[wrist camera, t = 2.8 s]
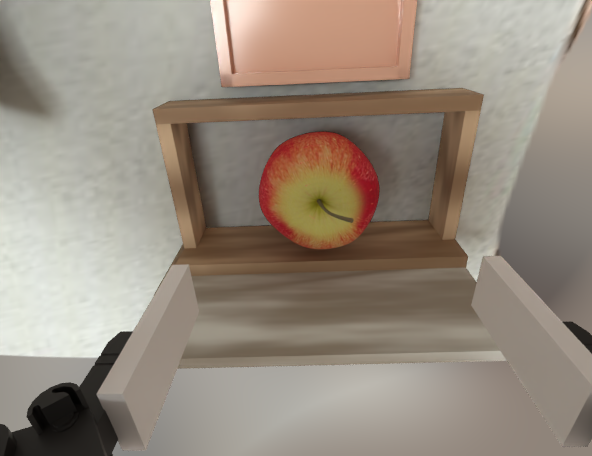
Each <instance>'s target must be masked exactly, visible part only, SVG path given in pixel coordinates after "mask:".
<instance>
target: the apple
mask: <svg viewBox="0 0 592 456" xmlns="http://www.w3.org/2000/svg"><path fill="white" fill-rule="evenodd" d="M378 198H379V182H378V177H377V175H376V172H375V170H374V168H373V166H372V165H371V163H370V161H369V160H368V158H367V157H366V156H365V155H364V153H363V152H362V151H361V150H360V149H359V148H358V147H357V146H356V145H355V144H354V143H352V142H351V141H350V140H348V139H347V138H345V137H344V136H342V135H339V134H336V133H332V132H311V133H306V134H302V135H299V136H296V137H293V138H291V139H289V140H287V141H285V142H284V143H282V144H281V145H279V146H278V147H277V148H276V149H275V151H274V152H273V153H272V155H271V156H270V158H269V160H268V162H267V164H266V166H265V168H264V171H263V174H262V177H261V182H260V187H259V202H260V207H261V210H262V212H263V214H264V216H265V217H266V219H267V220H268V221H269V222H270V224H271V225H272V226H273V227H274V228H275V229H276V230H278V231H279V232H280V233H281V234H282V235H284V236H285V237H287V238H288V239H290V240H291V241H293V242H294V243H296V244H298V245H300V246H303V247H306V248H310V249H332V248H337V247H341V246H344V245H347V244H349V243H351V242H353V241H354V240H356V239H357V238H358V237H359V236H360V235H361V234H362V232H363V231H364V230H365V228H366V227H367V226H368V224H369V222H370V221H371V219H372V217H373V215H374V212H375V210H376V207H377V203H378Z"/></svg>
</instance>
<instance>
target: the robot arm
mask: <svg viewBox="0 0 592 456" xmlns="http://www.w3.org/2000/svg"><path fill="white" fill-rule="evenodd" d="M471 306H472V307H473V309H474V310H475V312H476V313H477V315H478V317H479V318H480V320H481V321H482V323H483V324H484V326H485V328H486V329H487V331H488V332H489V334H490V335H491V337H492V338H493V340H494V342H495V343H496V345H497V346H498V348H499V349H500V351H501V352H502V354H503V356H504V357H505V359H506V360H507V362H508V363H509V365H510V366H511V368H512V369H513V371H514V373H515V374H516V376H517V377H518V379H519V380H520V382H521V384H522V385H523V387H524V388H525V390H526V391H527V393H528V395H529V396H530V398H531V399H532V401H533V402H534V404H535V405H536V407H537V408H538V410H539V412H540V413H541V415H542V416H543V418H544V419H545V421H546V423H547V424H548V426H549V427H550V429H551V430H552V432H553V433H554V435H555V437H556V438H557V440H558V441H559V443H560V444H561V446H562V447H582V446H583V447H584V446H585V447H586V446H588V445H589V443H590V441H591V439H592V335H591V334H590V333H589V332H587V331H586V330H584V329H583V328H581V327H580V326H578V325H576V324H575V323H573V322H561V320H560V319H559V318H558V317H557V316H556V315H555V314H554V313H553V312H552V311H551V310H550V309H549V307H548V306H547V305H546V304H545V303H544V302H543V301H542V300H541V299H540V298H539V297H538V296H537V294H536V293H535V292H534V291H533V290H532V289H531V288H530V287H529V286H528V285H527V284H526V283H525V281H524V280H523V279H522V278H521V277H520V276H519V275H518V274H517V273H516V272H515V271H514V270H513V269H512V267H511V266H510V265H509V264H508V263H507V262H506V261H505V260H504V259H503V258H502V257H501V256H483V259H482V263H481V267H480V271H479V275H478V279H477V283H476V288H475V292H474V296H473V300H472V304H471ZM198 313H199V308H198V304H197V299H196V295H195V290H194V286H193V281H192V277H191V272H190V268H189V264H185V265H172V266H171V268H170V269H169V271H168V273H167V275H166V276H165V278H164V280H163V281H162V283H161V285H160V286H159V288H158V290H157V292H156V293H155V295H154V297H153V298H152V300H151V302H150V304H149V305H148V307H147V309H146V310H145V312H144V314H143V315H142V317H141V319H140V321H139V322H138V324H137V326H136V327H135V329H134V331H132V332H120V333H118V334H117V335H116V336H115V337H114V338H113V339H112V340H110V341H109V342H108V344H107V345H106V347H105V348H104V350H103V351H102V353H101V356H99V358H98V359H97V361H96V362H95V366H93V367H92V368H91V370H90V372H89V373H88V375H87V376H86V378H85V379H84V381H83V383H82V384H81V385H80V387H78V385H77V384H74V383H61V384H58V385H55V386H53V387H51V388H49V389H48V390H46V391H44V392H42V393H41V394H40V395H39V396H38V397H37V398H36V399H35V400H34V401H33V402H32V404H31V405H30V407H29V408H28V412H27V418H28V420H29V421H30V423H31V425H32V427H28V428H25V429H21V430H18V431H15V432H10V430H9V429H8V428H7V427H6V426H5V425H3V424H0V456H113V454H112V451H113V449H114V447H115V445H116V443H117V441H118V442H119V444H120V446H121V448H122V450H123V451H131V450H132V451H134V450H146V449H147V446H148V443H149V441H150V438H151V435H152V433H153V431H154V428H155V425H156V423H157V420H158V417H159V415H160V412H161V410H162V407H163V404H164V402H165V399H166V396H167V394H168V391H169V389H170V386H171V383H172V381H173V378H174V376H175V373H176V371H177V368H178V365H179V363H180V360H181V358H182V355H183V352H184V350H185V347H186V345H187V342H188V339H189V337H190V334H191V332H192V329H193V326H194V324H195V321H196V318H197V316H198Z"/></svg>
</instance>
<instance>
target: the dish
mask: <svg viewBox="0 0 592 456" xmlns="http://www.w3.org/2000/svg"><path fill="white" fill-rule="evenodd" d="M210 4H211V11H212V18H213V26H214V33H215V41H216V48H217V56H218V63H219V71H220V78H221V86H222V87H239V86H261V85H283V84H305V83H327V82H348V81H370V80H392V79H409V75H410V66H411V56H412V46H413V36H414V26H415V16H416V6H417V0H210Z"/></svg>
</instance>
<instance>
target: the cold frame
mask: <svg viewBox="0 0 592 456" xmlns="http://www.w3.org/2000/svg"><path fill="white" fill-rule="evenodd" d="M483 96H484V95H483V94H480V93H477V92H473V91H470V90H467V89H463V88H452V89H430V90H407V91H385V92H362V93H340V94H318V95H295V96H273V97H251V98H228V99H206V100H183V101H169V102H167V103H165V104H162V105H160V106H158V107H156V108H154V109H153V113H154V118H155V122H156V126H157V131H158V135H159V140H160V144H161V148H162V153H163V157H164V162H165V166H166V170H167V175H168V179H169V184H170V188H171V192H172V197H173V201H174V205H175V210H176V214H177V219H178V223H179V227H180V232H181V236H182V241H183V245H182V246H181V248H180V250H179V252H178V254H177V255H176V257H175V259H174V261H173V262H172V264H171V266H172V265H185V264H189V268H190V272H191V277H192V281H193V286H194V290H195V295H196V299H197V304H198V308H199V313H198V316H197V318H196V321H195V324H194V326H193V329H192V332H191V334H190V337H189V339H188V342H187V345H186V347H185V350H184V352H183V355H182V358H181V360H180V363H179V365H178V368H220V367H261V366H305V365H345V364H347V365H348V364H390V363H427V362H428V363H431V362H473V361H507V360H506V359H505V357H504V356H503V354H502V352H501V351H500V349H499V348H498V346H497V345H496V343H495V342H494V340H493V338H492V337H491V335H490V334H489V332H488V331H487V329H486V328H485V326H484V324H483V323H482V321H481V320H480V318H479V317H478V315H477V313H476V312H475V310H474V309H473V307H472V306H471V304H472V300H473V296H474V292H475V288H476V283H477V282H476V281H475V280H474V278H473V277H472V276H471V274H470V273H469V271H468V270H467V269H466V264H467V259H468V256H467V254H466V253H465V252H464V250H463V249H462V248H461V247H460V245H459V244H458V243H457V241H456V240H455V237H456V232H457V227H458V222H459V217H460V212H461V207H462V202H463V197H464V192H465V187H466V182H467V176H468V171H469V166H470V161H471V156H472V151H473V146H474V141H475V136H476V131H477V126H478V121H479V116H480V111H481V106H482V101H483ZM433 112H445V114H444V121H443V127H442V134H441V140H440V147H439V154H438V160H437V167H436V173H435V180H434V186H433V193H432V199H431V206H430V213H429V219H428V220H417V221H388V222H369V224H368V226H367V227H366V228H365V230H364V231H363V232H362V234H361V235H360V236H359V237H358V238H357V239H356V240H354V241H353V242H351V243H349V244H347V245H344V246H341V247H337V248H332V249H310V248H306V247H303V246H300V245H298V244H296V243H294V242H293V241H291V240H290V239H288V238H287V237H285V236H284V235H282V234H281V233H280V232H279V231H278V230H276V229H275V228H274V227H273V226H244V227H215V228H206V224H205V218H204V213H203V208H202V202H201V197H200V192H199V186H198V181H197V176H196V170H195V165H194V160H193V154H192V149H191V143H190V138H189V133H188V127H187V123H200V122H224V121H247V120H270V119H294V118H317V117H340V116H363V115H387V114H410V113H433ZM171 266H170V268H171ZM170 268H169V269H170ZM169 269H168V271H169ZM168 271H167V273H168ZM167 273H166V275H167ZM166 275H165V276H166ZM164 278H165V277H164ZM164 278H163V280H164ZM163 280H162V281H163ZM161 283H162V282H161ZM160 285H161V284H160ZM160 285H159V286H160ZM158 288H159V287H158ZM157 290H158V289H157ZM156 292H157V291H156ZM156 292H155V293H156ZM154 295H155V294H154ZM178 368H177V369H178Z"/></svg>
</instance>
